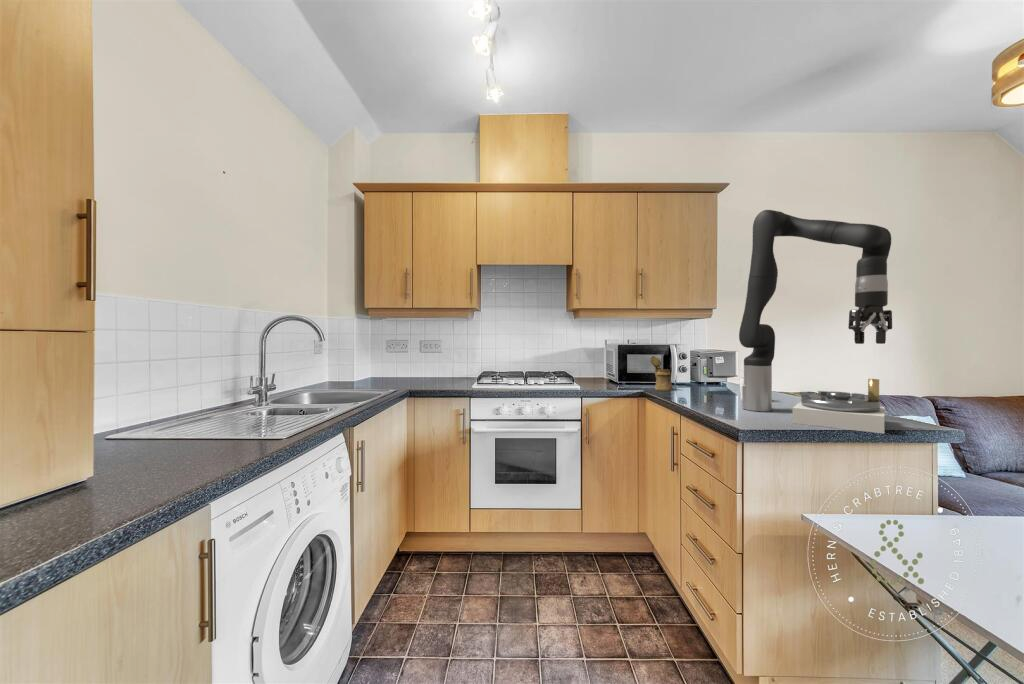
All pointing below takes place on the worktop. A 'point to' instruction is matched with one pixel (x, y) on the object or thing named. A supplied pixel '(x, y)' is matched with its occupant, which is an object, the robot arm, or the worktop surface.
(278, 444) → the worktop surface
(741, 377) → the white cup
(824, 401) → the handwheel with gold grip
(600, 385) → the worktop surface
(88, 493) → the worktop surface
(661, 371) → the utensil crock with spoon
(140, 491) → the worktop surface
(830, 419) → the block
